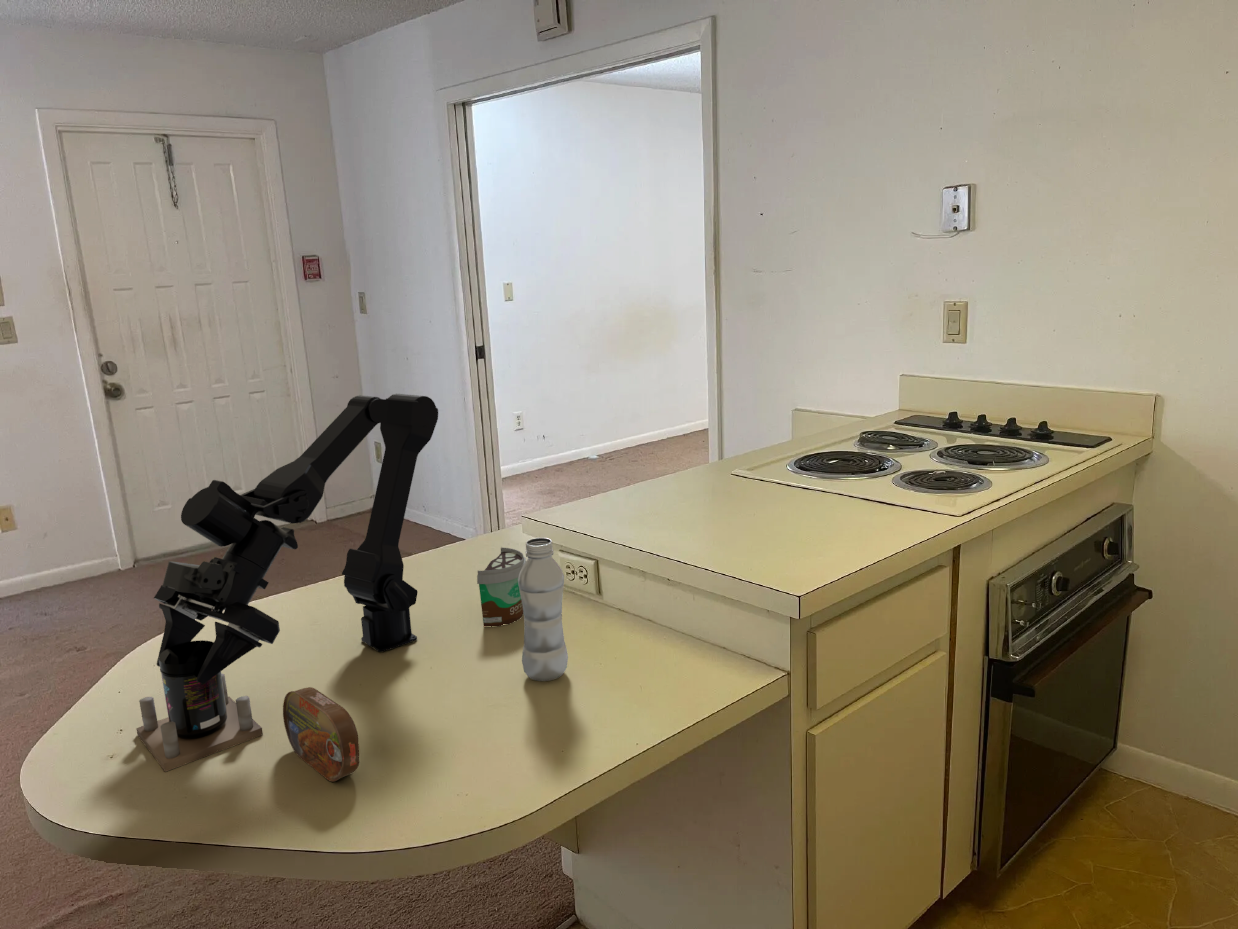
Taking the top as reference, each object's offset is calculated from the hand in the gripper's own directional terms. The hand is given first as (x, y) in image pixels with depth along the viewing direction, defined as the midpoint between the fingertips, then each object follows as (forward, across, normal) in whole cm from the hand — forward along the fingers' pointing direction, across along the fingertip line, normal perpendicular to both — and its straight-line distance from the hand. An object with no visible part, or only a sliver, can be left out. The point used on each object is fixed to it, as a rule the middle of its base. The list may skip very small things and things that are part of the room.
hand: (179, 674), depth 110 cm
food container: (-29, +11, +42) cm, 52 cm away
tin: (+3, +19, +10) cm, 22 cm away
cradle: (+5, 0, +7) cm, 9 cm away
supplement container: (+5, 0, +7) cm, 8 cm away
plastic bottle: (-19, +29, +32) cm, 47 cm away
